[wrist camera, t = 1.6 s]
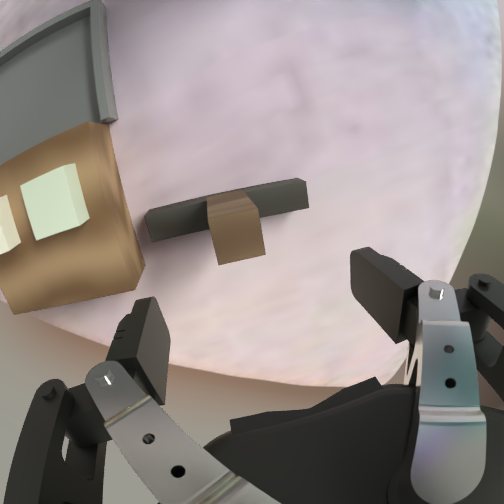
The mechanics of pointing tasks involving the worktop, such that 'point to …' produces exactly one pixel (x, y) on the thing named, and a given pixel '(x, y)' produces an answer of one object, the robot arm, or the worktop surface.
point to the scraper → (229, 217)
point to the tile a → (7, 227)
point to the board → (75, 239)
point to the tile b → (55, 201)
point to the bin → (55, 79)
